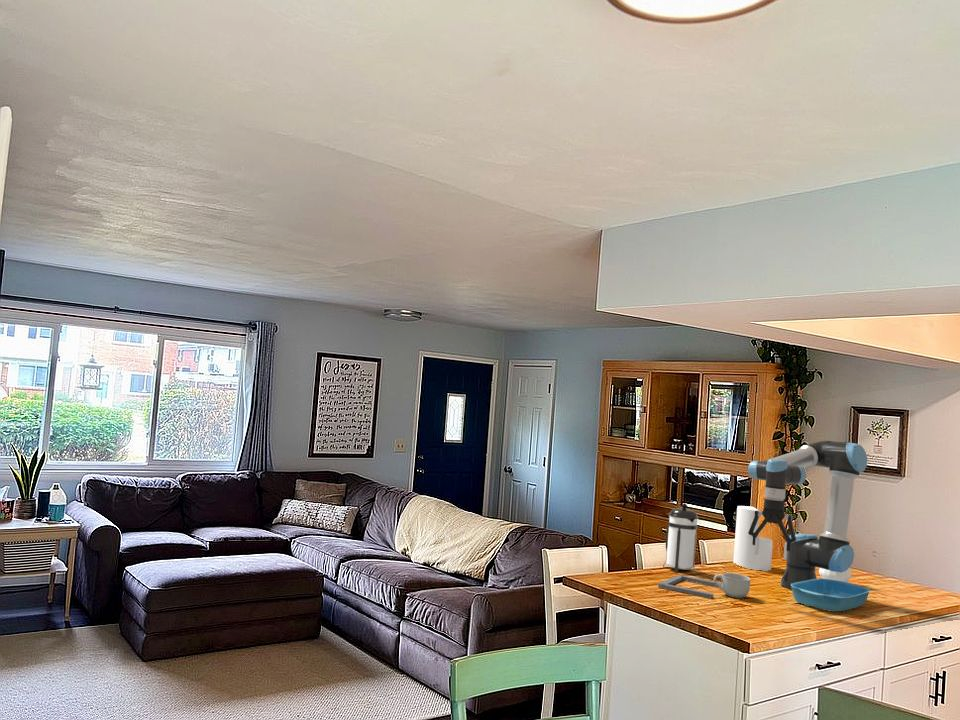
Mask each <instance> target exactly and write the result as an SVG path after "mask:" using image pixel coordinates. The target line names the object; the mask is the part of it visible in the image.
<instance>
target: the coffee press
mask: <svg viewBox="0 0 960 720" xmlns="http://www.w3.org/2000/svg"><path fill="white" fill-rule="evenodd" d="M681 507H682V508H680V507H678V508H673V509H671V511H670V512H669V513H668V516H669V521H668V522H667V525H666V533H665V535H666V537H665V551H666V555H665V556H666V557H665V562H664V564H663V565H662V567H663V568H664V569H665V568H667V567H671V568H673V569H674V570H673V572H674V571H675V572H674V573H676V572H677V571H678V572H679V570H689V571H691V572H692V571H693V572H696V573H697V572H698V571H697V569H696V567H695V560H696V559H695V558H696V550H697V549H696V547H697V545H696V544H697V532H698V520H699V516H698V514H697V512H696V511H694V510H693V509H689V508H688V504H687V503H685V502H684V503H682V505H681ZM665 564H666V566H665ZM693 569H694V570H695V571H694V570H693ZM678 572H677V573H678Z"/></svg>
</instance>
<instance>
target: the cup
mask: <svg viewBox="0 0 960 720" xmlns="http://www.w3.org/2000/svg"><path fill="white" fill-rule="evenodd" d="M818 573H819V575H820V577H821V578H820V579H829V580H836V581H842V582H847V583H849V581H850V579H851V578H852V573H851V567H850V568H849V569H848V570H847V571H845V572H833V571H830V570H826V569H822V568H818Z"/></svg>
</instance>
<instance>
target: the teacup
mask: <svg viewBox="0 0 960 720" xmlns="http://www.w3.org/2000/svg"><path fill="white" fill-rule="evenodd" d="M717 578H720V581H721V583H722V585H720V584H718V583H717V582H718V581H717ZM712 581H714V583H715V584H716V585H717V586H719V587H720V588H719V587H718V588H719V590H722V591H723V592H724V593H725V595H726V596H728V597H731V598H734V597H735V598H736V599H743V598H745V597H747V596H748V594H749V593H750V587H751V578H750V577H749V576H747V575H744V574H740V573H734V572H724V573H722V575H721V574H719V573H718V574H715V575H714V577H713V580H712Z"/></svg>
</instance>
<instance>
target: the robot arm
mask: <svg viewBox="0 0 960 720" xmlns="http://www.w3.org/2000/svg"><path fill="white" fill-rule="evenodd" d="M867 465H868V456H867V452H866V450H865V448H864V447H863V445H861V444H859V443H854V442H850V441H849V442H846V441H834V440H821V441H820V440H819V441H815V442H812V443H808V444H805V445H802V446H800V447H799V449H797V450H794V451H792V452H787V453H785V454H781V455H779V456H775V457H773V458H770V459H766V460H762V461H760V460H751V461H750V463H749V464H748V466H747V467H748V468H747V470H748V471H747V472H748V476H749V477H750V478H751V479H755V480H758V481H759V480H761V481H765V486H764V497H765V498H764V500H763V510H759V509H757V511H755V517H754V519H753V522H752V524H751V527H750V530H749V532H748V534H749V535H752V536H753V545H755V555H757V554H758V548H759V537H760V536H759V534H760V533H761V531H762V530H763V529H764V528H765V527H766V525H767V523H768V524H775V525H778V527H779V528H780V530H781V533H782V535H783V537H784V539H785V541H784V547H783V548H784V549H783V560H784V561H785V560H786V567H785V570H784V573H783V575H782V577H781V580H780V585H781V587H783V588H787V589H790V590H792V588H791V584H793V583H796V582H802V581H807V580H812V579H818V578H817V577H818V576H817V573H816V568H818V569H820V568H822V569H826V570H830V571H833V572H845V571H847V570H848V569H849V568H850V569H851V566H852V565H853V562H854V559H855V552H854V548H853V547H852V546H851V545H850V540H849V538H848V537H847V535H848V530H849V529H848V528H849V521H850V514H851V507H852V500H853V499H852V498H853V492H854V486H855V480H856V479H857V478H859V477H860V473H863V472H864V471H865V470H866V468H867ZM804 467H806V468H812V467H820V468H821V467H822V468H828V469H829V470H828V471H829V474H830V475H831V481H830V482H831V483H830V489H829V494H828V495H829V496H828V497H829V498H828V503H827V511H826V518H825V523H824V531H823V532H822V533H821V534H819V536H818V535H817V534H812V533H809V534H808V533H796V532H795V528H794V524H793V518H794V517H793V515H792V514H786V513H785V503H786V502H785V499H786V493H787V491H786V490H787V489H786V487H787V485H794V486H796V485H802V484H803V483H804V482H805V481H806V480H807V473H806V472H807V471H806V470H805V468H804ZM758 510H759V511H758ZM761 516H763V517H764V519H763V520H762V521H761V523H760V525H758V529H757V530H756V531H755V533H754V532H753V531H754V529H755V526H756V524H757V521H758V519H759V520H760V517H761ZM784 519H785V520H786V522H787V526H788V529H789V533H788V531H787V529H786V526H785V523H784V522H783V520H784ZM757 536H758V537H757Z"/></svg>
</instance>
